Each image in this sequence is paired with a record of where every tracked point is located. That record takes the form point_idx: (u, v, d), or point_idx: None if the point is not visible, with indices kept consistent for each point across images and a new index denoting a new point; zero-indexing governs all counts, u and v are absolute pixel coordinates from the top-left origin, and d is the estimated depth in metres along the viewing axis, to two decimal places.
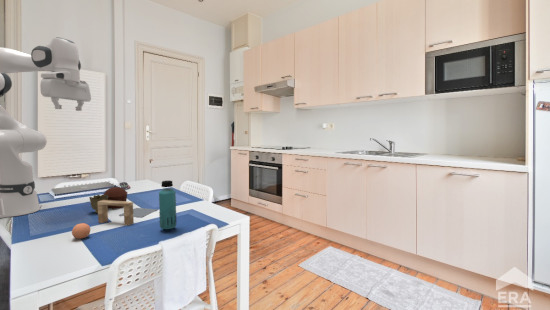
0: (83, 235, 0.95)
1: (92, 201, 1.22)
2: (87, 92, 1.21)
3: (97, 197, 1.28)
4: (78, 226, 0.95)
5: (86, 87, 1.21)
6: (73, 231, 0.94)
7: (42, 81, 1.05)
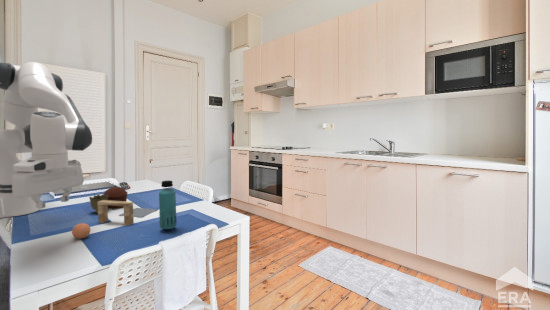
0: (83, 235, 0.95)
1: (92, 201, 1.22)
2: (78, 174, 0.93)
3: (97, 197, 1.28)
4: (78, 226, 0.95)
5: (77, 168, 0.92)
6: (73, 231, 0.94)
7: (14, 178, 0.76)
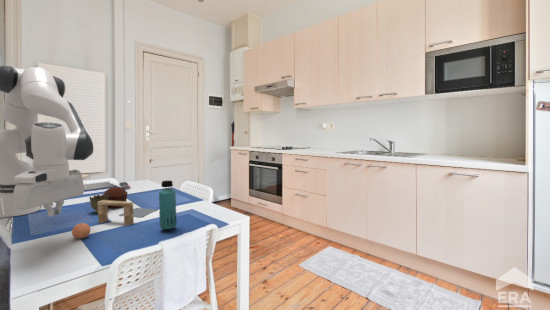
0: (83, 235, 0.95)
1: (92, 201, 1.22)
2: (79, 184, 0.93)
3: (97, 197, 1.28)
4: (78, 226, 0.95)
5: (78, 178, 0.92)
6: (73, 231, 0.94)
7: (16, 189, 0.76)
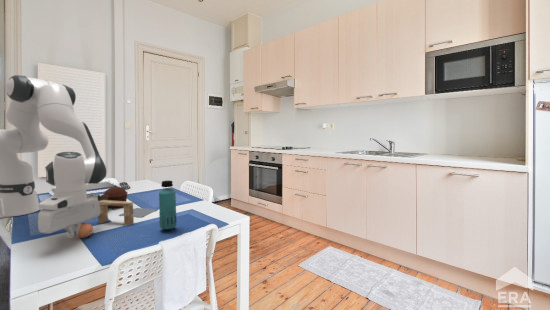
0: (85, 234, 0.95)
1: None
2: (96, 206, 1.00)
3: None
4: (83, 224, 0.96)
5: (94, 201, 1.00)
6: None
7: (40, 215, 0.84)
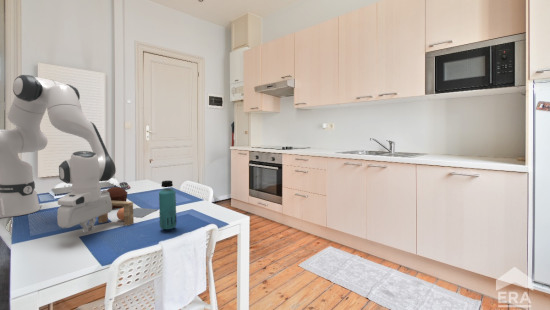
0: None
1: None
2: (108, 203, 1.06)
3: None
4: None
5: (107, 198, 1.05)
6: (120, 210, 1.14)
7: (59, 211, 0.89)
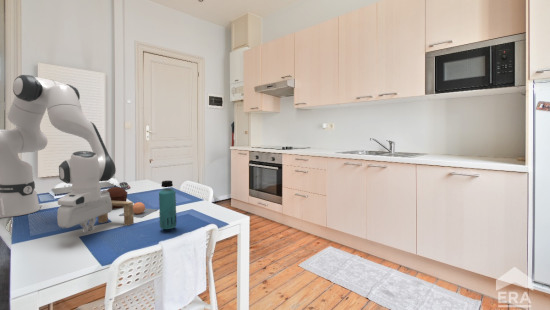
0: (144, 207, 1.26)
1: None
2: (108, 203, 1.06)
3: None
4: (139, 213, 1.25)
5: (107, 198, 1.05)
6: None
7: (59, 211, 0.89)
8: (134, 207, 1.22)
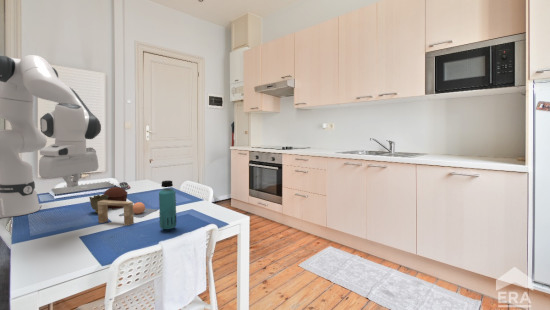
0: (144, 207, 1.26)
1: (92, 201, 1.22)
2: (94, 160, 1.03)
3: (97, 197, 1.28)
4: (139, 213, 1.25)
5: (93, 155, 1.02)
6: None
7: (41, 161, 0.86)
8: (134, 207, 1.22)
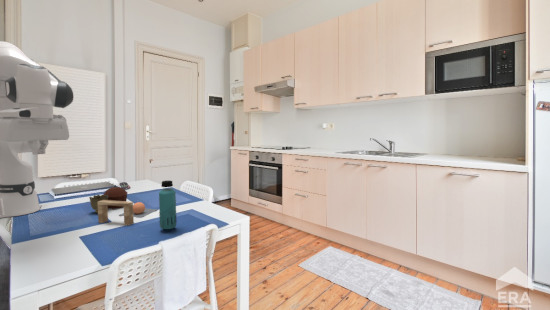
0: (144, 207, 1.26)
1: (92, 201, 1.22)
2: (64, 129, 0.97)
3: (97, 197, 1.28)
4: (139, 213, 1.25)
5: (62, 123, 0.97)
6: None
7: (0, 123, 0.80)
8: (134, 207, 1.22)
